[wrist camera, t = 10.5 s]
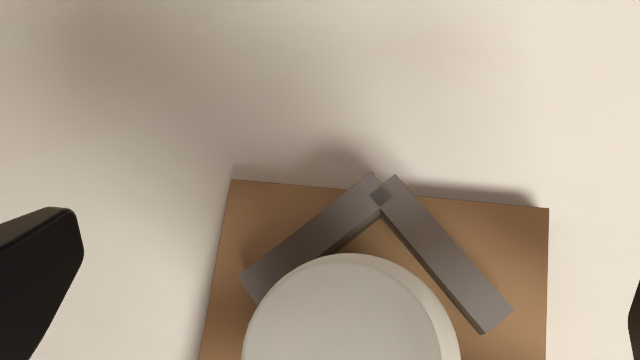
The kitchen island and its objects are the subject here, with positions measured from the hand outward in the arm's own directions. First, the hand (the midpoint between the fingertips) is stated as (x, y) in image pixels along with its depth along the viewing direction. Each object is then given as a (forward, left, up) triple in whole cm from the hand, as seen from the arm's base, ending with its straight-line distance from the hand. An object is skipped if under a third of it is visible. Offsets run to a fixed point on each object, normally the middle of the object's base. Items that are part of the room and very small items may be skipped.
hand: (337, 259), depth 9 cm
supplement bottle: (-1, -2, -12) cm, 13 cm away
